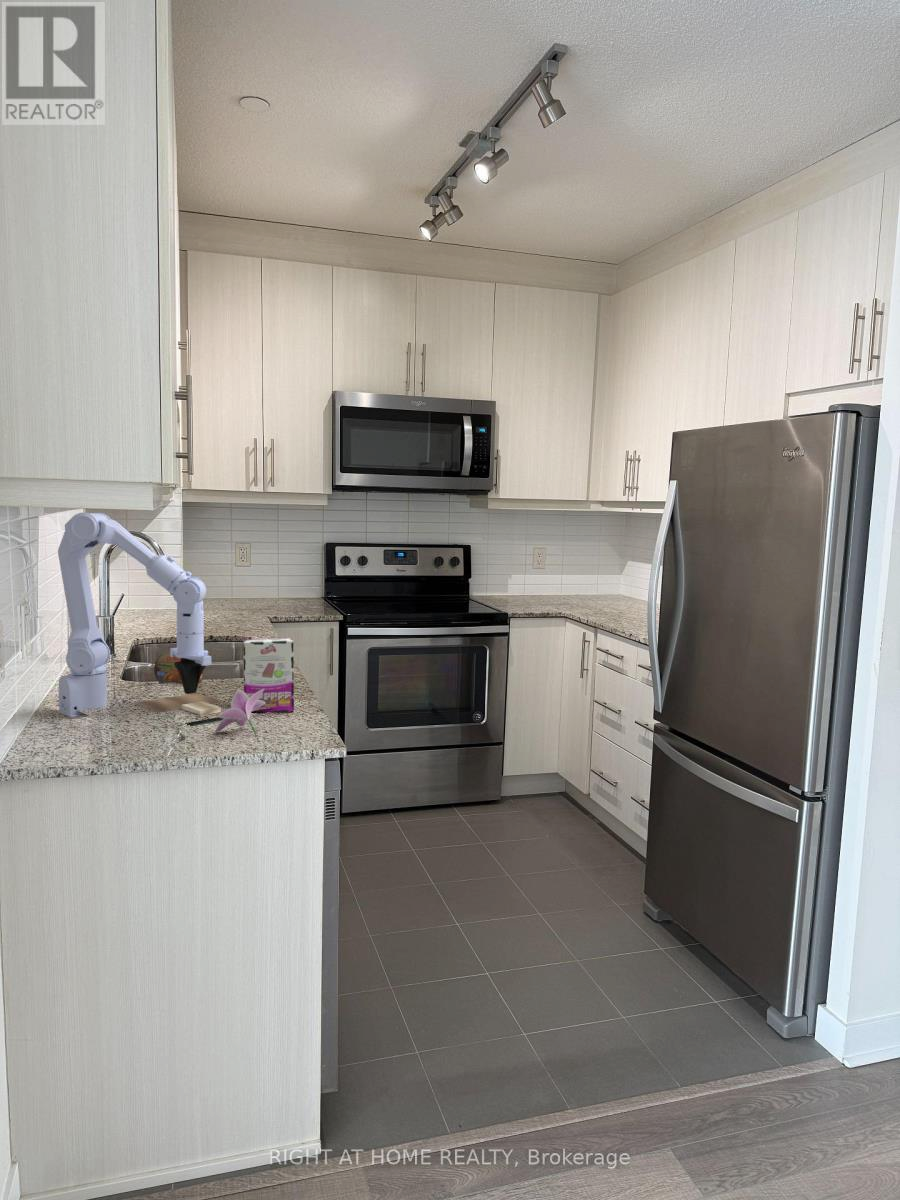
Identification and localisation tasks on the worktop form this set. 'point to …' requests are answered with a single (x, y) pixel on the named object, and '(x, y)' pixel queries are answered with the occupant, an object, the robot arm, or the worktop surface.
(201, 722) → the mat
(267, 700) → the candy bar box
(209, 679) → the worktop surface
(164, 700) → the board
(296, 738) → the worktop surface
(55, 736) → the worktop surface
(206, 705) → the cream flat block
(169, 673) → the orange green food package
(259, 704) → the lily
